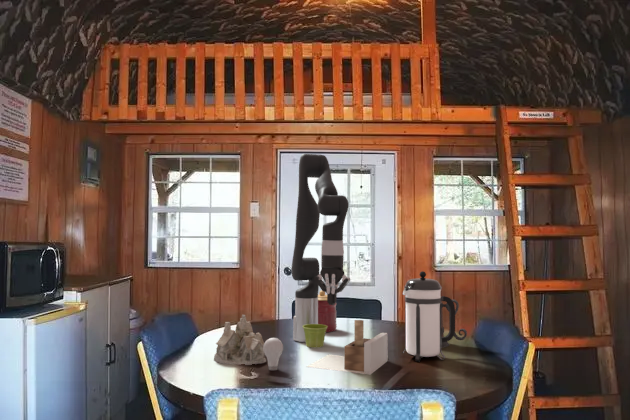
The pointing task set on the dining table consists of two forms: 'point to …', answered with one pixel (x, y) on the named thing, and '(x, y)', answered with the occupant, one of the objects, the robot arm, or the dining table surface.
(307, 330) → the plant pot
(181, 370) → the dining table surface
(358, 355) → the wooden square-hole block
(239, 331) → the ceramic cottage
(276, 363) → the lightbulb
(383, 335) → the l-shaped bookend
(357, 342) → the dowel
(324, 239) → the robot arm
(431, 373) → the dining table surface
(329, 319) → the canister
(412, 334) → the coffee press
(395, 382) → the dining table surface
